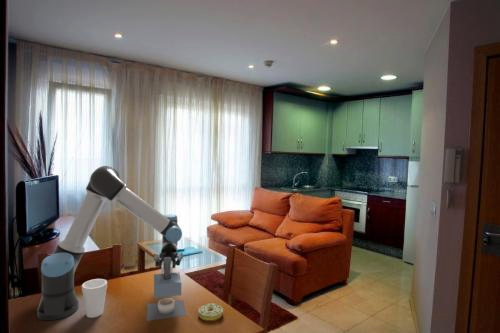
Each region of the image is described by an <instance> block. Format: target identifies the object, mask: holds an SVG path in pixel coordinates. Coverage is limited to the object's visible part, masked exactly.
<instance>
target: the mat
mask: <svg viewBox="0 0 500 333" xmlns="http://www.w3.org/2000/svg"><path fill="white" fill-rule="evenodd" d="M174 301H175V304H174V311H173V312H171V313H168V314H161V313H159V312H158V302H153V303H147V304H146V321H147V322H148V321H157V320H164V319H165V320H166V319H171V318H172V319H173V318H178V317H179V318H180V317H187V312H186V306H185V301H184V299H180V300H179V299H177V300H174Z"/></svg>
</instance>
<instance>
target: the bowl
mask: <svg viewBox="0 0 500 333" xmlns="http://www.w3.org/2000/svg"><path fill="white" fill-rule="evenodd" d="M175 301H176V300H175V298H173V297H172V298H171V297H163V298H160V299H159V300H158V302H157V303H158V312H159V313H161V314H168V313H171V312H173V311H174V304H175Z"/></svg>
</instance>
